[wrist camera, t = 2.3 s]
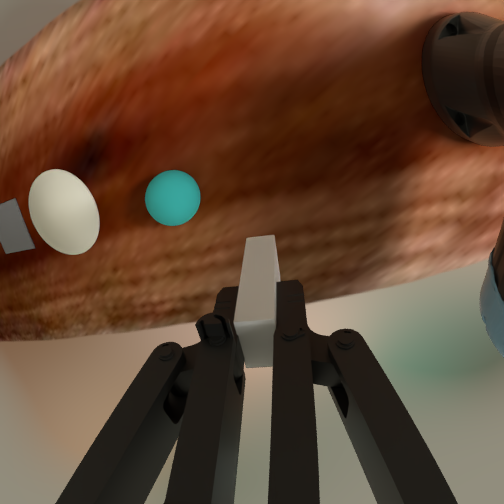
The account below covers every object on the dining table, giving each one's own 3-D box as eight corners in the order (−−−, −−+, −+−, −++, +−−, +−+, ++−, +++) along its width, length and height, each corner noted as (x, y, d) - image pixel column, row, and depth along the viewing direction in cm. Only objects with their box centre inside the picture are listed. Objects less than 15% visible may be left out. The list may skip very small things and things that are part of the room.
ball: (199, 159, 31) (185, 174, 26) (210, 208, 33) (199, 231, 28) (150, 169, 31) (129, 186, 27) (163, 215, 34) (146, 238, 29)
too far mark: (15, 198, 34) (14, 198, 33) (35, 247, 38) (34, 248, 37) (-12, 208, 35) (-13, 209, 35) (6, 253, 39) (6, 253, 38)
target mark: (81, 158, 31) (81, 158, 31) (112, 248, 37) (111, 249, 36) (19, 181, 32) (18, 182, 32) (48, 257, 38) (48, 258, 38)
